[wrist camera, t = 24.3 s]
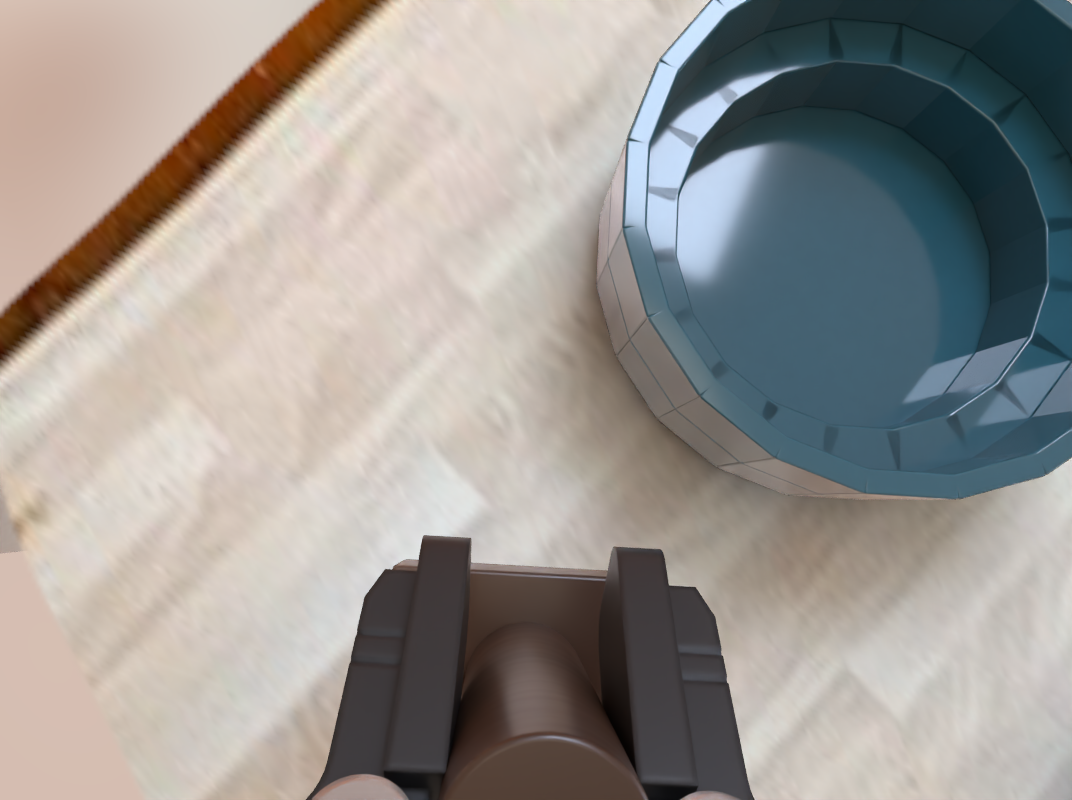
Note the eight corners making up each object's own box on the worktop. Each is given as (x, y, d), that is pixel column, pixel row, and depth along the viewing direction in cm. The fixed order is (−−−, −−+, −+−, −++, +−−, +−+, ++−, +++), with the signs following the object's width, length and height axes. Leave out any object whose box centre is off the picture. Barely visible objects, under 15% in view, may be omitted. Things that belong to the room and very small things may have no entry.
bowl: (582, 483, 24) (610, 477, 18) (605, 48, 26) (637, -85, 20) (1035, 511, 25) (1205, 515, 19) (1027, 83, 27) (1180, -37, 21)
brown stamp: (397, 738, 17) (244, 1078, 7) (411, 554, 18) (289, 622, 8) (631, 749, 18) (813, 1097, 7) (639, 567, 18) (819, 650, 8)
